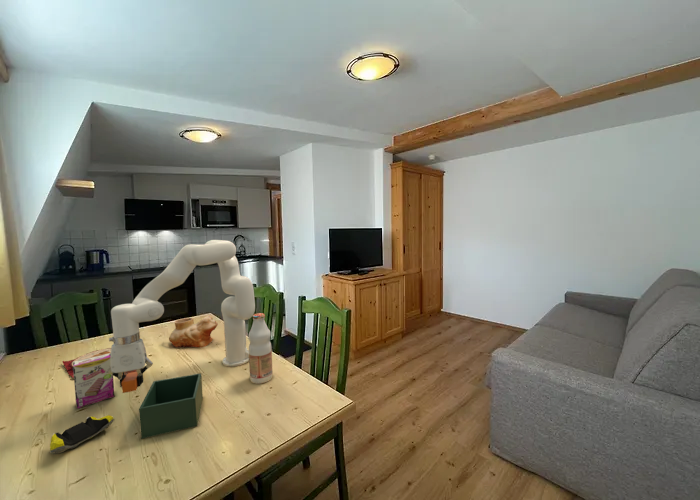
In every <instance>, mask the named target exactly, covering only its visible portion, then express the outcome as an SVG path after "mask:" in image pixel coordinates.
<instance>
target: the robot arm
mask: <svg viewBox="0 0 700 500" xmlns="http://www.w3.org/2000/svg"><path fill="white" fill-rule="evenodd" d="M236 253H237V246H236V245H235V243H233V242H232V241H231V240H224V239H223V240H221V239H211V240H208V241H206V242H205V243H204V244H193V243H192V244H191V243H188V244H186V245H184V246H183V247H182V248H181V249H180V250H179V251H178V253H177V254H176V255H175V256H174V257H173V258H172V260H171V261H170V262H169V264H168V265H167V266H166V268H165V269H164V270H163V271H162V272H161V273H160V274H158V275H157V276H156V277H154V278H153V279H152V280H150V281H149V282H148V283H147V284H146V285H145V286H144V287H143V288H142V289H141V291H139V293H138V294H137V295H136V296H135V298H134V299H133V300H132V303H122V304H118V305H115V306H114V307H112V308H111V310H110V316H111V317H110V318H111V325H112V334H113V335H112V337H109V338H108V341H109V342H112V343H113V344H112V345H111V347H110V348H111V366H110V367H109V369H108V370H107V373H108V374H111V375H113V377H115V378H117V380H119V387H120V388H122V383H121V382H122V381H123V380H124V378H125V377H126V375H124V374H125V372H126V371H132V370H136V371H137V375H138V376H137V386H138V388H140V387H141V386H142V384H143V383H144V373H145V372H146V371H147V370H149V368H150V367H153V365H154V362H153V361H152V360H151V359H150V358H149V357H148V354H147V350H146V345H145V343H144V339H143V338H141V334H140V333H141V331H140V323H145V322H153V321H156V320H158V319H160V318H161V317H162V316H163V314H164V313H165V307H164V305H163V304H162V302H160V301H159V300H160V298H161V297H162V296H163V295H164V294H165V293H167V292H168V291H170V290H172V289H174V288H175V289H176V288H177V287H179V286H181V285H183V284H185V282H186V280H187V279H188V277H189V276H190V275H191V274H192V272H193V271H194V269H195V268H196V267H197V266H208V265H213V264H217V266H218V268H219V269H218V270H219V275H220V284H221V290H222V292H223V293H224V294H227V295H230V296H227V297H226V298H224V300H222V302H221V304H220V305H221V306H220V311H221V316H222V321H223V329H224V331H223V332H224V333H223V334H224V349H225V357H224V358H223V359H222V361H221V362H222V365H223V366H225V367H238V366H242V365H245V364H247V363H249V349H248V347H247V332H246V321H247V320H250V319H252V318H253V315H254V314H255V312H256V300H255V291H254V289H255V288H254V284H253V282H252V280H251V279H250V278H249V277H248V276H245V275H241V271H240V265H239V261H238V258H237V256H236Z"/></svg>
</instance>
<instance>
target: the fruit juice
mask: <svg viewBox="0 0 700 500" xmlns="http://www.w3.org/2000/svg"><path fill="white" fill-rule="evenodd" d="M265 319H266V315H265V313H263V312H262V313H261V312H258V313H254V314H253V316H252V320H253V321H252V325H251V328H250V330H249V332H248V334H247V335H248V336H247V337H248V341H249V345H248V351H249V361H248V366H249V369H248V370H249V380H250V382H251V383H253V384H257V385H258V384H259V385H260V384H265V383H267V382H269V381H271V380H272V379H273V375H274V373H273V371H274V370H273V354H272V353H273V350H272V349H273V347H272V343H271V337H272V334H271V333H272V332H271V330H270V328H269V327H268V325H267V322H266V321H265Z"/></svg>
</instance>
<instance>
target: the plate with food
mask: <svg viewBox="0 0 700 500" xmlns="http://www.w3.org/2000/svg"><path fill="white" fill-rule="evenodd" d="M109 353H110V354H111V347H107V348H101V349H98V350H97V349H96V350H93V351H90V352H88V353H87V352H86V353H84V354H82V355H79V356H78V357H76V358H74V359H70V360H62V361H61V362H62V364H63V366H64V368H65V369H66V372H67V374H68V375H69V376H70V377H71V378H73V379H74V372H73V362H75V361H79V360H84V359H88V358H92V357H96V356H100V355H105V354H109Z"/></svg>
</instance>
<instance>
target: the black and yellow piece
mask: <svg viewBox="0 0 700 500" xmlns="http://www.w3.org/2000/svg"><path fill="white" fill-rule="evenodd" d="M114 421H115V418H114V416H112V415H109V414H108V415H104V416H103V417H99V418H97V417H95V416H93V415H92V416H87V417H86V419H85V421H80V422H79V423H77V424H75V425H73V426H70V427H68V428H66V429H65V430H64V431H62V433H60V432H54V433H53V434H52V436H51V438H50V443H49V452H50V454H62V453H63V452H65V451H67V450H73V449H75V448H77V447H78V446H79V445H80V444H82V443H83V442H85V441H87V440H91V439H92V438H93V437H95V436H97V435H98V434H99V433H101V432H103V431H105V430H106V429H108V428H109V427H110V426H111V424H112V423H113V422H114Z"/></svg>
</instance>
